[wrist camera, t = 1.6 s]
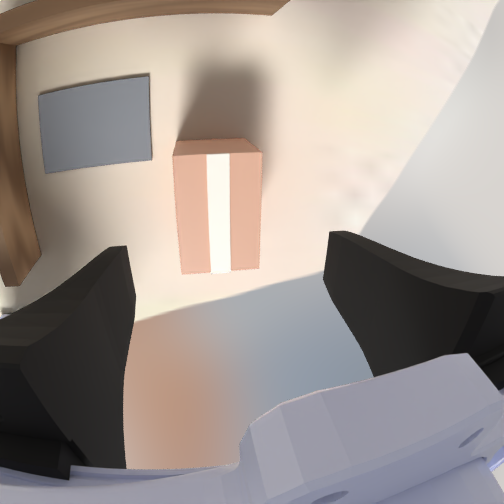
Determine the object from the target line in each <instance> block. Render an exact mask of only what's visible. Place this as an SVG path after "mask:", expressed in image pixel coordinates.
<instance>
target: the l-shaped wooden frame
mask: <svg viewBox="0 0 504 504" xmlns="http://www.w3.org/2000/svg"><path fill="white" fill-rule="evenodd" d="M289 1H290V0H36V1H33V2H30V3H27V4H24V5H22V6H19V7H16V8H14V9H11V10H9V11H6V12H4V13H1V14H0V274H1V277H2V279H3V282H4V285H5V287H10V286H20V285H21V283H22V282H23V280H24V279H25V277H26V276H27V274H28V273H29V271H30V270H31V269H32V267H33V266H34V264H35V263H36V262H37V260H38V259H39V257H40V256H41V252H40V248H39V244H38V240H37V236H36V232H35V228H34V224H33V220H32V215H31V211H30V206H29V201H28V196H27V190H26V185H25V179H24V173H23V166H22V159H21V151H20V143H19V133H18V122H17V107H16V46H17V45H20V44H23V43H26V42H29V41H32V40H35V39H39V38H42V37H46V36H49V35H53V34H56V33H60V32H64V31H68V30H72V29H77V28H81V27H86V26H91V25H96V24H101V23H107V22H113V21H119V20H126V19H133V18H141V17H150V16H161V15H174V14H196V13H236V14H257V15H271V16H272V15H273V14H274V13H276V12H277V11H278V10H279V9H280V8H281V7H283V6H284V5H285V4H286V3H288V2H289Z"/></svg>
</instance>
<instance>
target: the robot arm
mask: <svg viewBox="0 0 504 504" xmlns="http://www.w3.org/2000/svg"><path fill="white" fill-rule="evenodd" d="M323 280H324V283H325V285H326V288H327V290H328V293H329V295H330V297H331V299H332V301H333V303H334V305H335V306H336V308H337V309H338V311H339V313H340V314H341V316H342V318H343V319H344V321H345V322H346V324H347V325H348V327H349V329H350V330H351V332H352V333H353V335H354V336H355V338H356V340H357V342H358V343H359V345H360V347H361V349H362V351H363V353H364V355H365V357H366V359H367V362H368V364H369V366H370V369H371V371H372V373H373V376H374V377H373V378H369V379H366V380H362V381H358V382H354V383H350V384H345V385H341V386H337V387H332V388H328V389H323V390H318V391H315V392H312V393H309V394H306V395H303V396H300V397H297V398H295V399H291V400H288V401H285V402H282V403H280V404H278V405H277V406H275V407H274V408H272V409H271V410H270V411H268V412H267V413H265V414H264V415H262V416H260V417H259V418H257V419H256V420H254V421H253V422H252V423H251V424H250V426H249V427H248V429H247V431H246V433H245V435H244V437H243V438H242V440H241V442H240V462H237V463H233V464H229V465H222V466H212V467H200V468H186V469H159V470H158V469H157V470H156V469H152V470H151V469H148V470H145V469H144V470H143V469H137V470H136V469H126V460H125V450H124V449H125V448H124V433H123V386H124V373H125V366H126V361H127V355H128V350H129V344H130V339H131V334H132V329H133V324H134V318H135V304H136V293H135V288H134V283H133V278H132V273H131V268H130V262H129V257H128V251H127V246H115V247H109V248H107V249H106V250H104V251H103V252H102V253H100V254H99V255H98V256H97V257H95V258H94V259H93V260H92V261H90V262H89V263H88V264H87V265H86V266H84V267H83V268H82V269H81V270H79V271H78V272H77V273H76V274H74V275H73V276H72V277H70V278H69V279H68V280H66V281H65V282H64V283H63V284H61V285H60V286H59V287H57V288H56V289H54V290H53V291H51V292H50V293H48V294H47V295H45V296H43V297H42V298H40V299H39V300H37V301H35V302H33V303H31V304H30V305H28V306H26V307H24V308H22V309H20V310H18V311H16V312H14V313H12V314H3V315H1V317H0V504H504V493H503V491H502V489H501V487H500V486H499V484H498V482H497V480H496V479H495V477H494V475H493V474H492V471H493V470H495V469H496V468H497V467H498V466H500V465H501V464H502V463H503V462H504V276H490V275H482V274H475V273H469V272H464V271H459V270H454V269H450V268H445V267H442V266H438V265H435V264H432V263H429V262H425V261H422V260H419V259H416V258H413V257H411V256H408V255H406V254H403V253H401V252H398V251H396V250H393V249H391V248H388V247H386V246H384V245H381V244H379V243H377V242H375V241H372V240H370V239H367V238H365V237H363V236H360V235H357V234H355V233H351V232H348V231H331V232H329V239H328V247H327V255H326V262H325V269H324V276H323Z"/></svg>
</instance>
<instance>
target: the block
mask: <svg viewBox="0 0 504 504" xmlns="http://www.w3.org/2000/svg"><path fill="white" fill-rule="evenodd" d="M172 158H173V176H174V192H175V206H176V219H177V231H178V242H179V253H180V263H181V272H182V275H183V274H196V273H209V272H211V274H216V273H228V272H231V271H234V270H246V269H258V268H259V260H260V226H261V189H262V152H261V151H260V150H259V149H258V148H256V147H255V146H254V145H253V144H251V143H250V142H249V141H247V140H246V139H245V138H228V139H202V140H184V141H176V144H175V148H174V152H173V156H172Z"/></svg>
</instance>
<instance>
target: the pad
mask: <svg viewBox="0 0 504 504" xmlns="http://www.w3.org/2000/svg"><path fill="white" fill-rule="evenodd" d="M38 103H39V119H40V132H41V142H42V151H43V159H44V166H45V173H46V174H48V173H54V172H60V171H66V170H73V169H80V168H87V167H95V166H102V165H111V164H119V163H129V162H138V161H149V160H152V152H151V134H150V108H149V76H147V77H138V78H129V79H122V80H114V81H108V82H101V83H95V84H89V85H84V86H79V87H74V88H69V89H64V90H59V91H55V92H51V93H46V94H42V95H38Z"/></svg>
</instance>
